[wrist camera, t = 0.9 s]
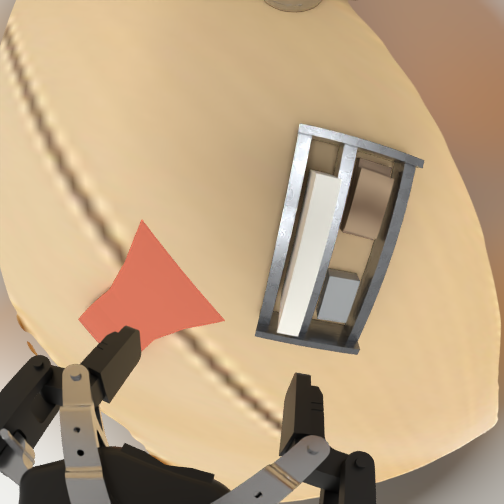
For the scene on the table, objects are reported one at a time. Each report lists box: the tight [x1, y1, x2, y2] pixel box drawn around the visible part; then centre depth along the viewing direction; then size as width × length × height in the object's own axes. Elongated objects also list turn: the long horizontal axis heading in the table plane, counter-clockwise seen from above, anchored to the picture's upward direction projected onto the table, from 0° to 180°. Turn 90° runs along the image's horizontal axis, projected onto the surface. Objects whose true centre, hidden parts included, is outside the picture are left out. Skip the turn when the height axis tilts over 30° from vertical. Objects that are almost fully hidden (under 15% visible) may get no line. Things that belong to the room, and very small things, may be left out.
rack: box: [255, 124, 424, 355], centre depth 34 cm, size 28×15×6 cm, turn 170°
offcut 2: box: [340, 158, 392, 240], centre depth 34 cm, size 10×4×2 cm, turn 170°
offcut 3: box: [342, 167, 394, 239], centre depth 32 cm, size 8×4×2 cm, turn 168°
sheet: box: [78, 220, 225, 351], centre depth 45 cm, size 5×30×24 cm
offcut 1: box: [316, 268, 360, 323], centre depth 39 cm, size 7×4×3 cm, turn 172°
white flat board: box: [277, 169, 342, 337], centre depth 33 cm, size 18×2×11 cm, turn 170°
